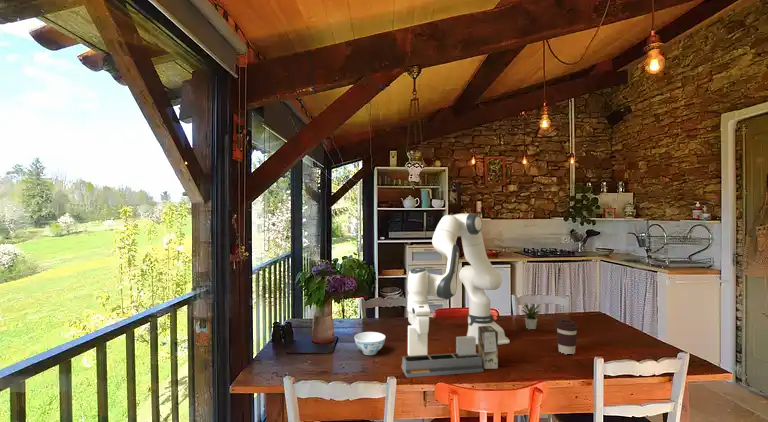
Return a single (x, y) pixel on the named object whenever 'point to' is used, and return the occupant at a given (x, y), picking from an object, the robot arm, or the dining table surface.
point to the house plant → (531, 316)
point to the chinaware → (369, 342)
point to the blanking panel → (416, 343)
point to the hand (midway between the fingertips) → (417, 338)
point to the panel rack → (445, 361)
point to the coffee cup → (566, 336)
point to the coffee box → (488, 346)
